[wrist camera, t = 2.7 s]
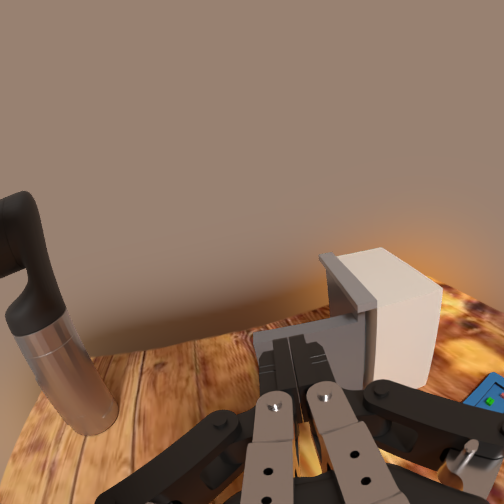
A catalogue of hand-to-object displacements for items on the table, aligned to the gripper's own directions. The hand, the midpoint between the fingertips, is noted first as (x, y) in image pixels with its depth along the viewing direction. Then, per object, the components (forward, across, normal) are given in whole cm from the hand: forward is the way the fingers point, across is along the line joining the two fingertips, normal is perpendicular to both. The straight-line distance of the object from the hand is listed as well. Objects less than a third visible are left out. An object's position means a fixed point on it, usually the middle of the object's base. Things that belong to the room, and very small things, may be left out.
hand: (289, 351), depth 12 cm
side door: (+18, -2, +18) cm, 26 cm away
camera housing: (+19, -12, +19) cm, 30 cm away
